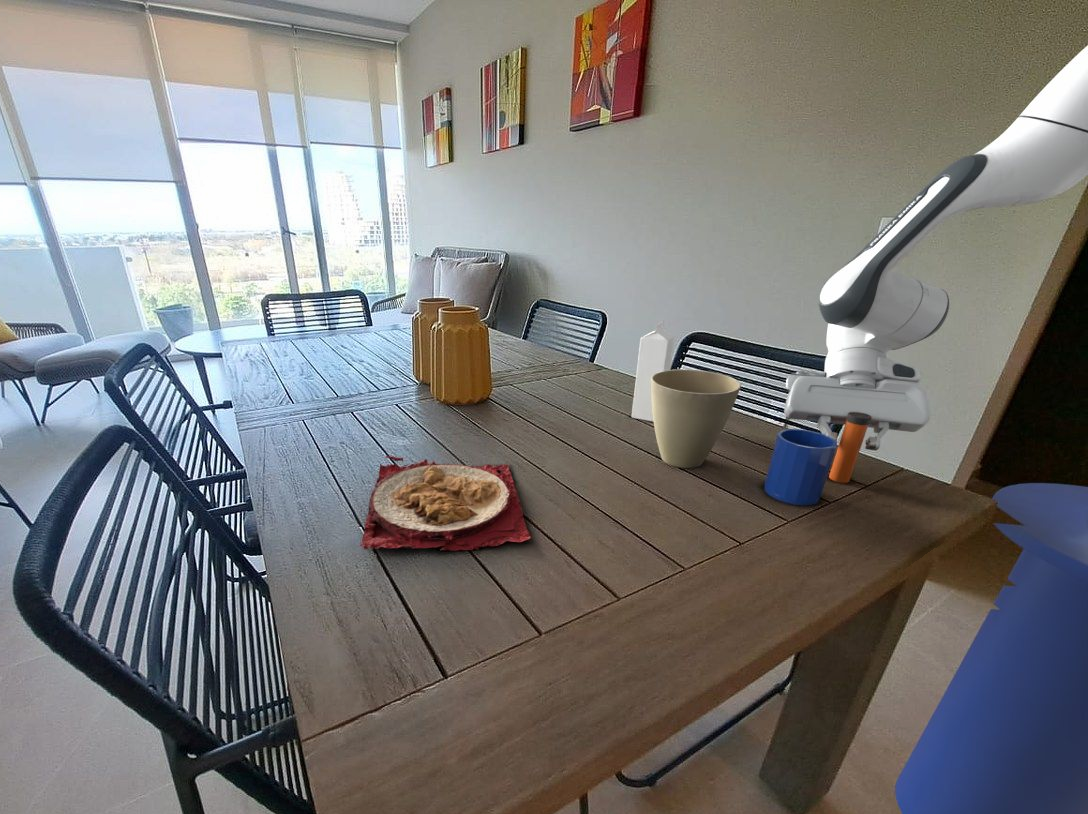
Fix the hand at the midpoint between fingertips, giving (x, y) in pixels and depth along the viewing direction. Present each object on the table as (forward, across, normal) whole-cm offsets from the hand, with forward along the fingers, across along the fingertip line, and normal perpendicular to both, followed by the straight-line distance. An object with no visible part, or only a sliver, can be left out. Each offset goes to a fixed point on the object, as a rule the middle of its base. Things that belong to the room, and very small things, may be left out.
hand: (851, 446), depth 81 cm
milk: (-10, -35, +20) cm, 41 cm away
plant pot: (+6, -26, +4) cm, 27 cm away
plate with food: (+28, -61, -18) cm, 69 cm away
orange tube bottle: (+4, 0, +5) cm, 7 cm away
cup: (+10, -8, -1) cm, 13 cm away
